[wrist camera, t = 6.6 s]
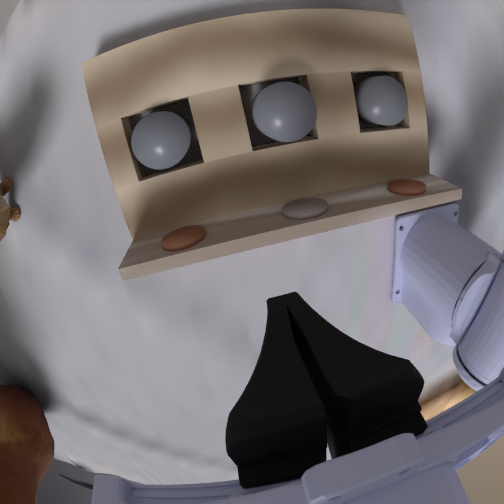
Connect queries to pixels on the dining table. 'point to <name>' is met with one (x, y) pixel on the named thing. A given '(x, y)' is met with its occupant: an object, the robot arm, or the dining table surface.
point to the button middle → (284, 111)
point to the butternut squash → (22, 445)
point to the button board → (269, 155)
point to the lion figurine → (6, 208)
